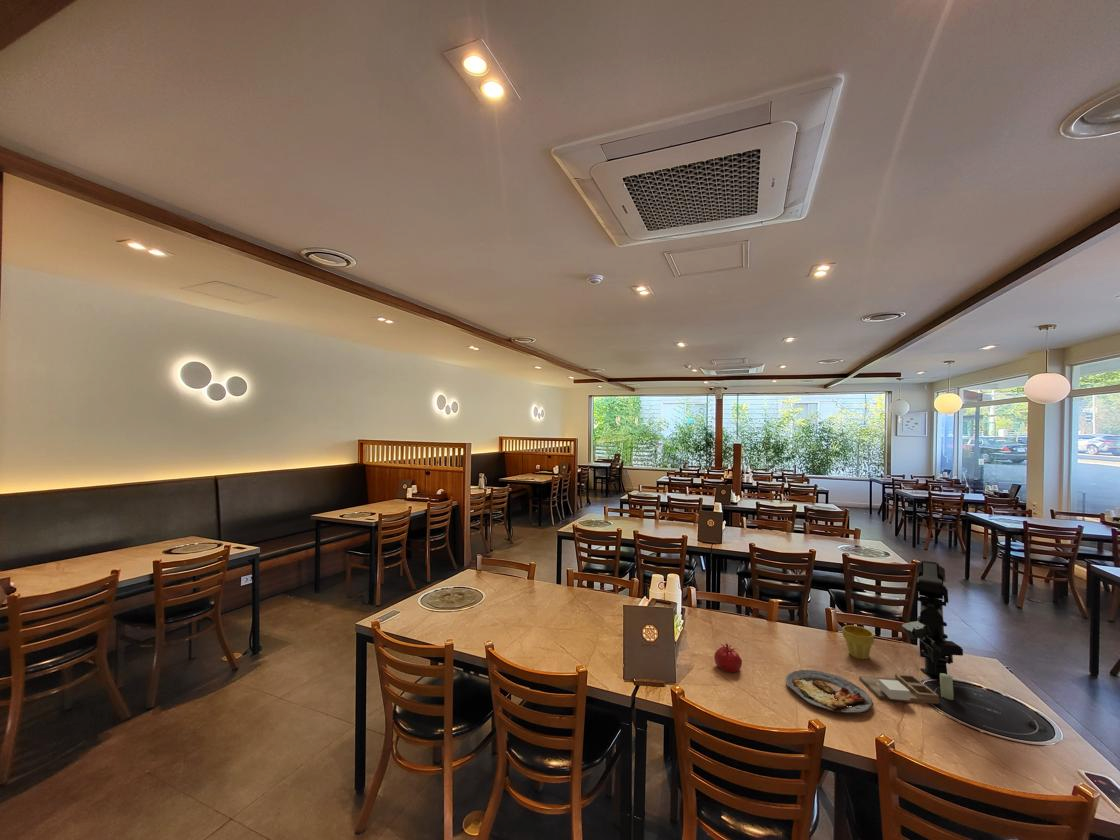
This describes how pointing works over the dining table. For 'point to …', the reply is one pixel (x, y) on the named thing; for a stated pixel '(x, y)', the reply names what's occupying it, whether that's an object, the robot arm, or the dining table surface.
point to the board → (883, 696)
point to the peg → (946, 686)
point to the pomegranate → (728, 659)
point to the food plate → (829, 691)
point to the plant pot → (858, 641)
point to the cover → (894, 689)
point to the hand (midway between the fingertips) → (934, 662)
